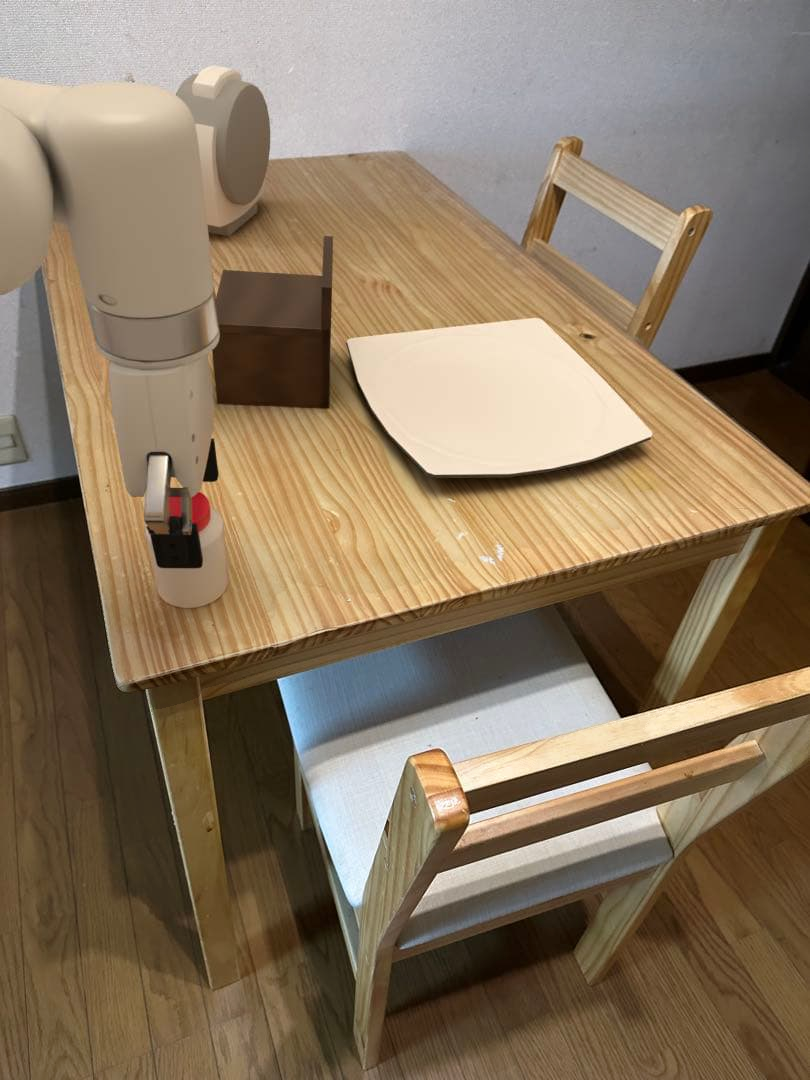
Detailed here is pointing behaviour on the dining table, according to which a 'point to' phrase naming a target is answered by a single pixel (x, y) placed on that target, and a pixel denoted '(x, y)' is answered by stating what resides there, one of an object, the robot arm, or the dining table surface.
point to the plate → (491, 400)
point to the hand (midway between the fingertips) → (190, 519)
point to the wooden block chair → (274, 337)
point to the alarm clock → (229, 144)
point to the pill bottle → (213, 575)
